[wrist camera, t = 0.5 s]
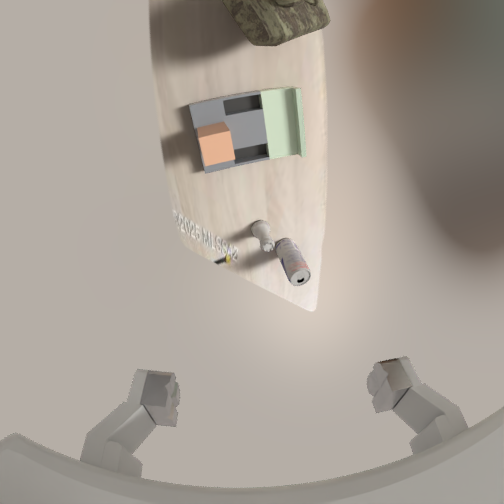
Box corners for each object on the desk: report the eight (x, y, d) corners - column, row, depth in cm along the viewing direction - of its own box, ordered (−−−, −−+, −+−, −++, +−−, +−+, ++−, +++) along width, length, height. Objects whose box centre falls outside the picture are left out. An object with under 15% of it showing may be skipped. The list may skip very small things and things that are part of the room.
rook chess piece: (257, 238, 67) (265, 259, 61) (247, 226, 64) (254, 247, 58) (272, 228, 66) (282, 248, 60) (263, 215, 63) (272, 235, 57)
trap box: (204, 169, 53) (205, 177, 49) (189, 104, 44) (189, 107, 40) (298, 149, 54) (306, 156, 51) (292, 86, 45) (300, 88, 42)
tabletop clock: (291, 36, 38) (367, 23, 19) (250, 53, 40) (302, 44, 21) (255, -21, 29) (308, -73, 10) (211, -4, 31) (233, -58, 12)
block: (202, 152, 48) (205, 166, 42) (197, 127, 45) (198, 138, 39) (228, 146, 48) (235, 159, 42) (223, 121, 45) (230, 130, 39)
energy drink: (276, 256, 72) (290, 289, 63) (273, 241, 68) (288, 273, 59) (295, 250, 72) (312, 282, 63) (293, 235, 68) (310, 266, 59)
